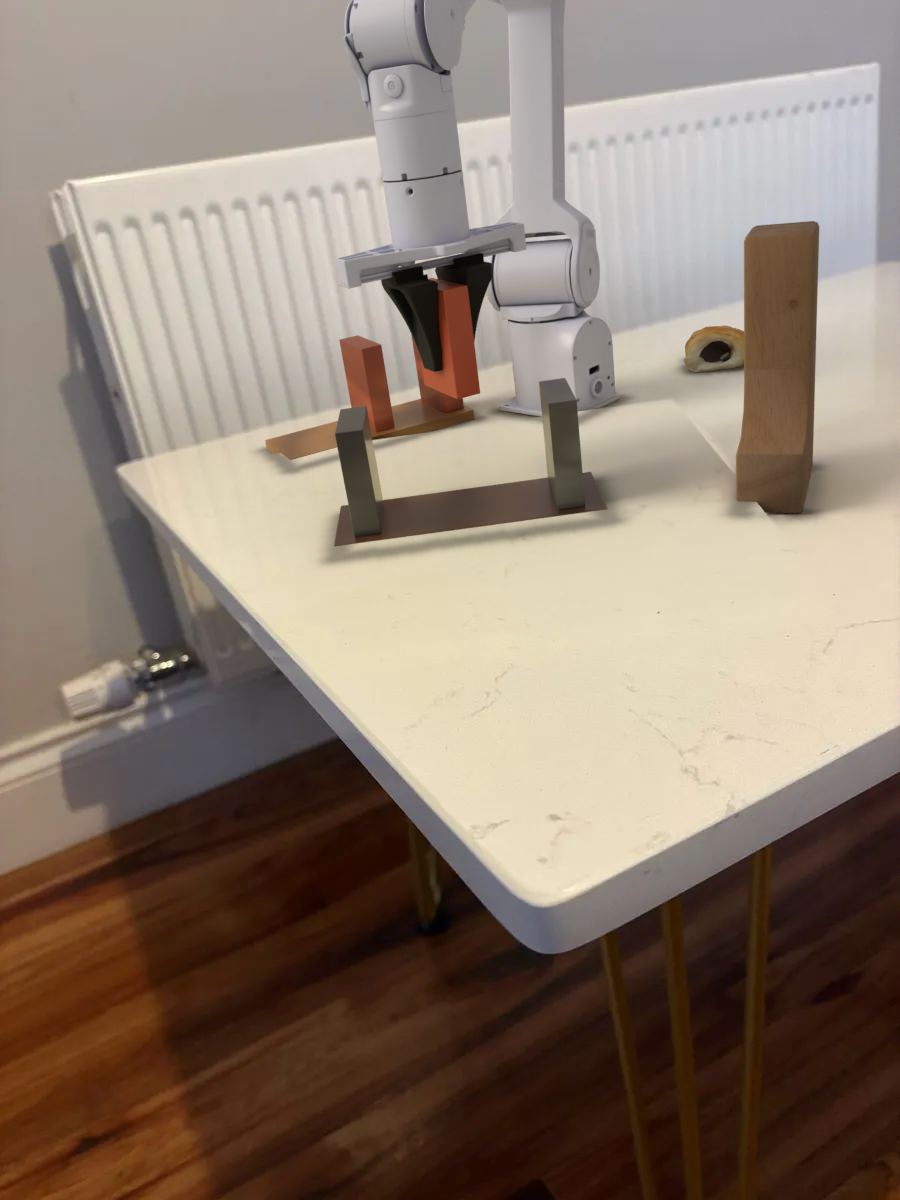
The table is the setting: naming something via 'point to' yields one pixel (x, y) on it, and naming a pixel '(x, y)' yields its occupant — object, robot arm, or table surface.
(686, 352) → the pastry
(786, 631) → the table surface
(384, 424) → the book rack
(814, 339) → the wooden block
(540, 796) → the table surface
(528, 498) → the grey book stand
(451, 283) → the terracotta book
